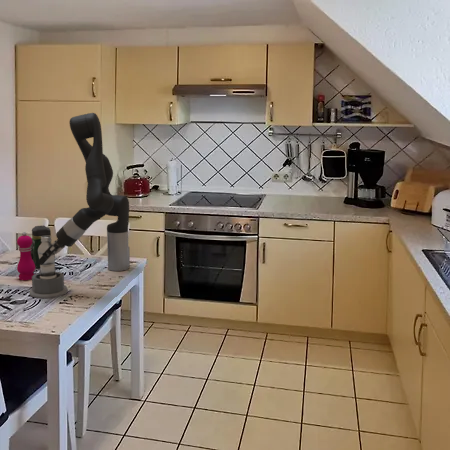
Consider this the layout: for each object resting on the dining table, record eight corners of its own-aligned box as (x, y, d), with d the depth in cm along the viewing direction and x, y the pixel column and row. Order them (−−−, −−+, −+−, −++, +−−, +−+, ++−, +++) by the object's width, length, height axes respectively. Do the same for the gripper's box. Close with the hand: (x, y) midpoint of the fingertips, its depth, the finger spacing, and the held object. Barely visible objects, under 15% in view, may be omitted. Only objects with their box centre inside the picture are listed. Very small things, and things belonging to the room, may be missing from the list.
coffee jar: (53, 268, 246) (51, 227, 242) (35, 270, 242) (33, 229, 239) (50, 262, 254) (48, 223, 251) (32, 264, 251) (30, 225, 247)
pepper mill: (30, 281, 226) (27, 234, 222) (14, 280, 228) (11, 233, 224) (39, 276, 233) (36, 230, 229) (23, 275, 234) (21, 229, 231)
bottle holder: (47, 284, 222) (46, 269, 221) (75, 289, 216) (74, 273, 215) (21, 294, 209) (20, 278, 208) (49, 300, 204) (49, 283, 202)
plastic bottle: (61, 286, 213) (58, 235, 210) (46, 290, 208) (44, 238, 204) (50, 283, 217) (48, 233, 213) (36, 287, 211) (33, 236, 208)
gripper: (71, 220, 214) (43, 249, 217) (57, 228, 200) (27, 258, 203) (85, 234, 214) (57, 262, 218) (72, 243, 200) (42, 273, 204)
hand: (43, 260), depth 210 cm, fingers closed on plastic bottle, 6 cm apart
